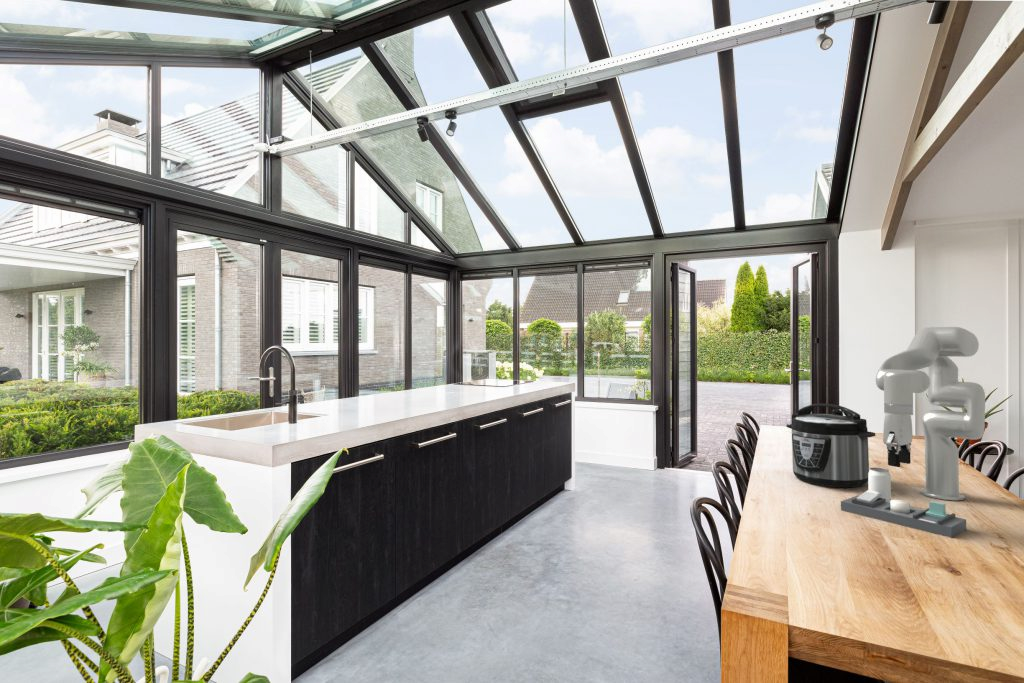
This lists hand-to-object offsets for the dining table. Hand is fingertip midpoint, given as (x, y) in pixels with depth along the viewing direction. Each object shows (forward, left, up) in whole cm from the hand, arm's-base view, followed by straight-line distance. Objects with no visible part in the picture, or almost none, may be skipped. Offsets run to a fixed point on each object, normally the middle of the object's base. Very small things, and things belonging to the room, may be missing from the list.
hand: (899, 464), depth 166 cm
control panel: (0, 0, -18) cm, 18 cm away
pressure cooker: (-29, -36, -18) cm, 50 cm away
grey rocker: (0, -9, -13) cm, 16 cm away
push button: (0, 0, -16) cm, 16 cm away
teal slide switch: (-2, +9, -15) cm, 17 cm away
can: (-13, -11, -18) cm, 25 cm away
